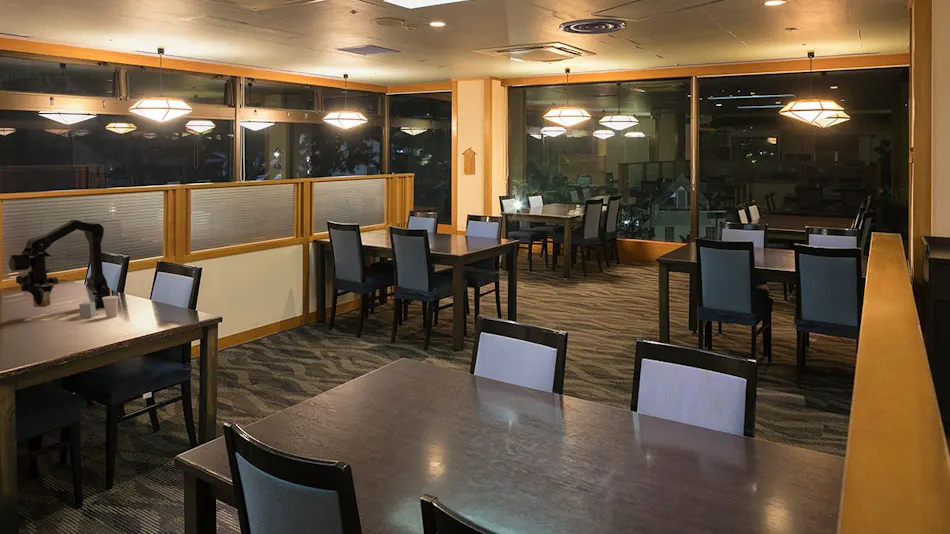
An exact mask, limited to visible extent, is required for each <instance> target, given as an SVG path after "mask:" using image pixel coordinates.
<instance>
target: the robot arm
mask: <svg viewBox="0 0 950 534" xmlns="http://www.w3.org/2000/svg"><path fill="white" fill-rule="evenodd" d="M77 230H78V231H81V232H84V236H85V239H86V240H87V242H88V248H89V260H90V261H89V262H90V275H89V277H86V283H87V284H86V287H87V288H88V290H89V291H90V292H91V293H92V296H94V299H93V302H95V309H102V308H104V309H105V307H104V302H103V301H102V298H103V297H107V296H110V287H109V286H108V285H109V284H108V281H107V278H106V277H105V275H104V269H103V258H102V241H103V238H104V232H105V229H104V226H103V225H102V224H100V223H95V222H85V221H81V220H79V219H70V220H69V221H68V222H66V223H64V224H63V225H61V226H58V227H57V228H55V229H53V230H51V231H50V232H48V233H46V234H42V235H39V236H35V237H32V238H30V239H28V240H27V241H26V244H25V245H26V246H25V247H24V248H23V250H22V251H21V253H20V254H11V255H10V258H9V259H8V267H9V269H10V270H11V272H17V271H25V270H29V268H30V270H29V271H28V272H27V275H22V274H20V275H17V276H16V277H15V283H16V284H18V285H19V286H20V289H21V290H20V291H21V292H28V293H29V294H31V295H32V298H33V297H34V299H35V301H36V303H37V305H41V301H42V296H43V292H44V291H49V296H50V295H51V293H52V291H53V289H54V287H55V285H57V284H59V278H58V277H56V276H48V272H49V270H50V269H47V262H46V258H48V257H49V258H50V257H51V254H49V253H48V252H47V251H46V250H47V249H49V248H50V247H51V245H52V244H53V243H55V242H57V241H59V240H60V239H62V238H64V237H66V236H68V235H69V234H71V233H73V232H74V231H77ZM49 273H50V272H49ZM111 293H112V296H114V294H115V293H114V290H113V289H111Z"/></svg>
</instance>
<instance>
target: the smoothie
mask: <svg viewBox="0 0 950 534" xmlns="http://www.w3.org/2000/svg"><path fill="white" fill-rule="evenodd" d="M109 288H110V296H107V297H103V298H102V301H103V302H104V307H105V308H104V312H105V315H106V318H107V319H115V318H118V305H119V303H118V302H119V296H118V295H113V296H112V293H111V290H112V287H111V286H110V287H109Z"/></svg>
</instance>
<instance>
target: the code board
mask: <svg viewBox="0 0 950 534" xmlns="http://www.w3.org/2000/svg"><path fill="white" fill-rule="evenodd" d="M99 315H100V313H96V316H99ZM96 316H94V317H92V318H80V313H41V314H40V313H37V314H35V315H33V316H32V315H31V316H30V317H28V318H25V319H23V320H22V321H26V322H27V321H31V322H35V321H38V322H39V321H88V320H91V319H93V318H95V317H96Z"/></svg>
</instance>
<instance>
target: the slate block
mask: <svg viewBox="0 0 950 534" xmlns="http://www.w3.org/2000/svg"><path fill="white" fill-rule="evenodd" d="M78 305H79V314H80V318H91V319H93V318H95V317H96V314H97V313H96V311H97V310H96V309H97V308H95V302H94V301H83V302H82V303H81V302H80V303H78ZM94 316H95V317H94ZM92 317H93V318H92Z"/></svg>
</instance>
